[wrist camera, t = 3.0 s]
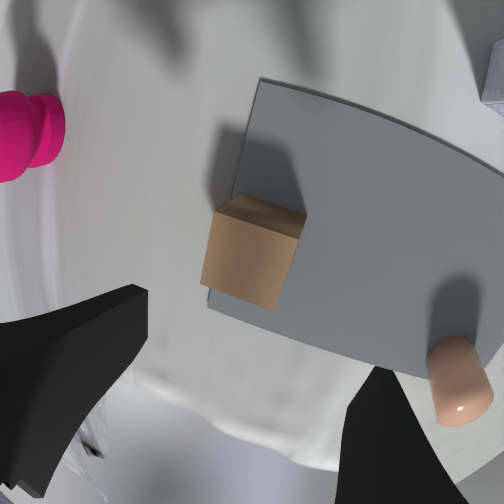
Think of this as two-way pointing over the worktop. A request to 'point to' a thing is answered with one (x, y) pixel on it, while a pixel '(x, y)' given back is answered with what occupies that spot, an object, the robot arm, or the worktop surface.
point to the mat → (374, 233)
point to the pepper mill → (28, 132)
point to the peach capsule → (457, 382)
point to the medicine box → (495, 79)
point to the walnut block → (251, 249)
